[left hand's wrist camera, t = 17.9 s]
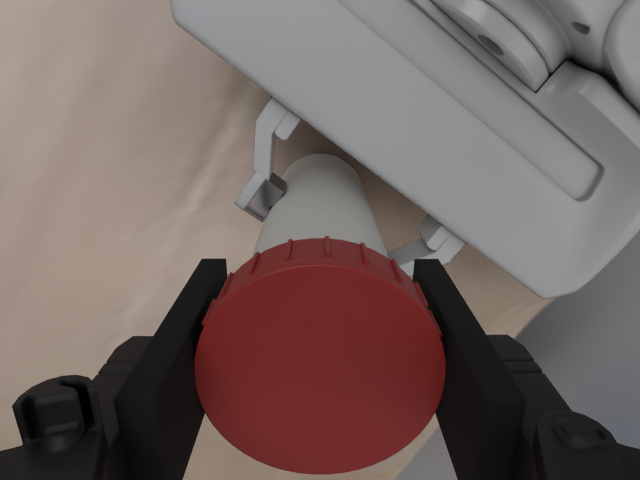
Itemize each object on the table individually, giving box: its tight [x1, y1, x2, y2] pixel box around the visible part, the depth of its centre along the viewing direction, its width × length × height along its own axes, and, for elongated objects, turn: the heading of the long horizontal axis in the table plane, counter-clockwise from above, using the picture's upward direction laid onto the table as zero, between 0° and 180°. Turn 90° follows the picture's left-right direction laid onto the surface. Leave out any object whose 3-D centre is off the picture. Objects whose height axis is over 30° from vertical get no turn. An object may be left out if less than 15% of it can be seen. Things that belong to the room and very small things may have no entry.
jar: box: [251, 154, 389, 259], centre depth 19 cm, size 5×5×16 cm
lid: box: [194, 236, 446, 474], centre depth 12 cm, size 6×6×2 cm
